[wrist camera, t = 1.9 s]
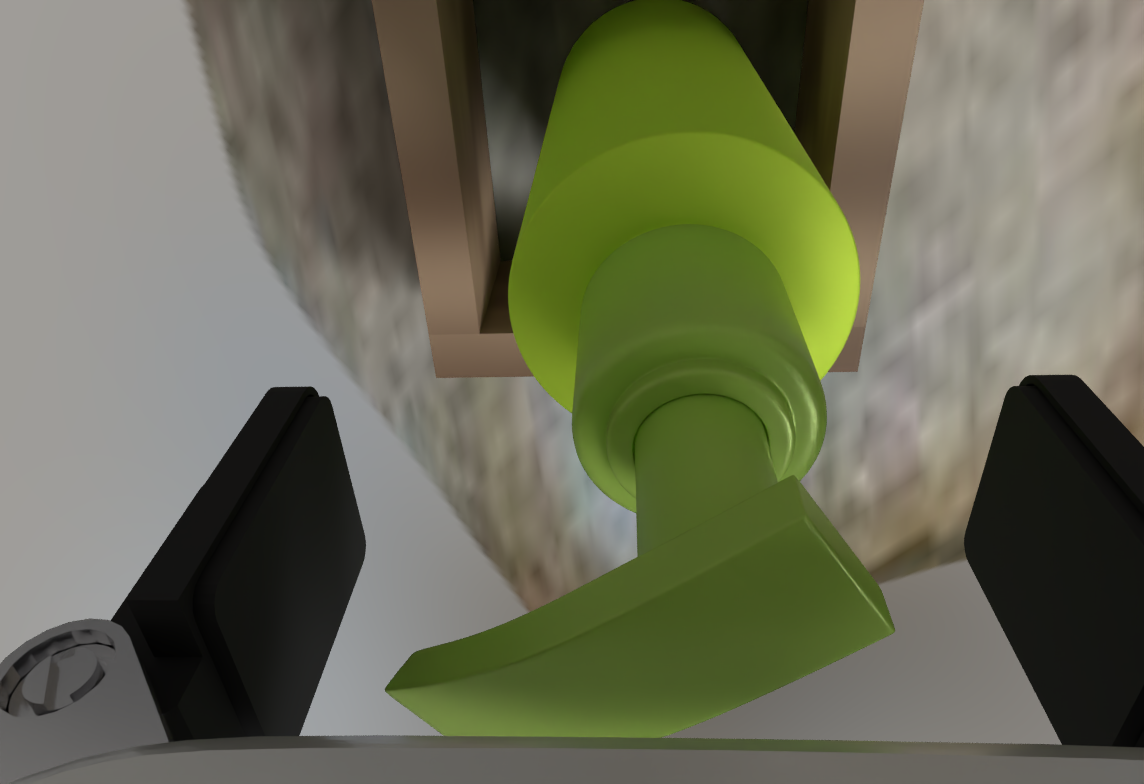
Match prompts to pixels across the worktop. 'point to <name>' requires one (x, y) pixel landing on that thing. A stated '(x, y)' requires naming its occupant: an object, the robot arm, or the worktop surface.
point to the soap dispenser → (674, 397)
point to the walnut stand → (463, 173)
